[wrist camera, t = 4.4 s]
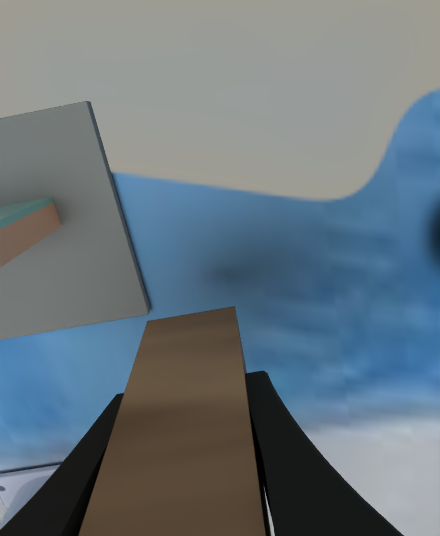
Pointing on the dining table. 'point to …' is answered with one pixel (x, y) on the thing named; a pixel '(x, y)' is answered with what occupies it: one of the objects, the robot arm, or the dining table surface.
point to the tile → (25, 226)
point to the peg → (182, 438)
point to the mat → (65, 227)
